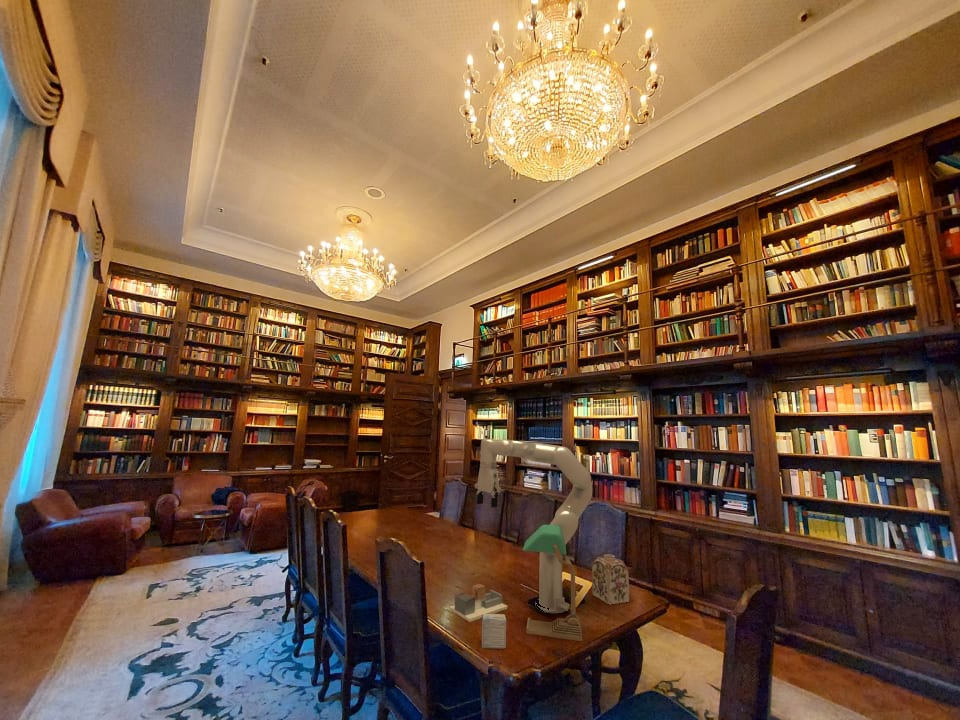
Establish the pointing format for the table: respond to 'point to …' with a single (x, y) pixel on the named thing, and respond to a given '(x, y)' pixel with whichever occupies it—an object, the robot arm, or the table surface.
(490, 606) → the board
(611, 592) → the decorative jar
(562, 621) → the banker's lamp
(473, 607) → the socket
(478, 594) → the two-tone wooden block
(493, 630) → the medicine box
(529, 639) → the table surface
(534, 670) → the table surface
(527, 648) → the table surface
